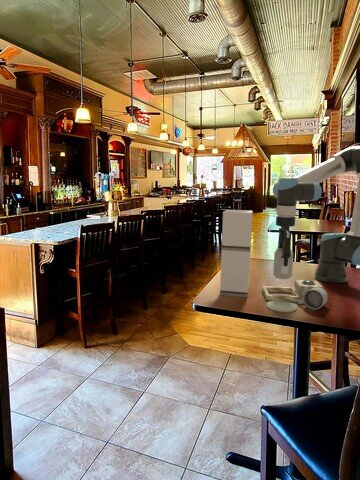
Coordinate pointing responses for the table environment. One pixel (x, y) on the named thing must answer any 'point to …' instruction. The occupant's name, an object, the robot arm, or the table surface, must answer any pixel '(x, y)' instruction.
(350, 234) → the robot arm
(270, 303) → the pad
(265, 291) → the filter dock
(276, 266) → the can
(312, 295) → the ceramic mug
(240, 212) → the tall seamed white tower
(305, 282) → the glossy grey oval piece
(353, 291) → the table surface
